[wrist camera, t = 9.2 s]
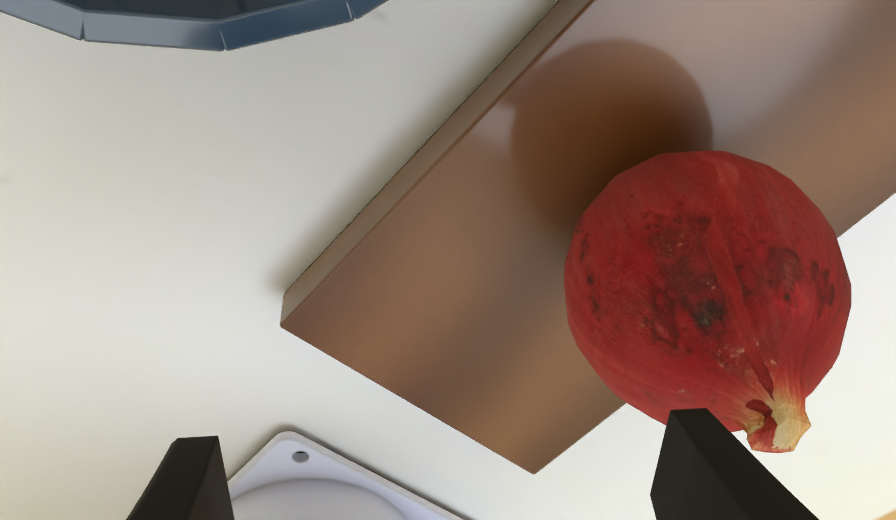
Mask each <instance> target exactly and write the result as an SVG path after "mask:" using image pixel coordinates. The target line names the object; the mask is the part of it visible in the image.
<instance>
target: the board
mask: <svg viewBox="0 0 896 520" xmlns="http://www.w3.org/2000/svg"><path fill="white" fill-rule="evenodd" d="M692 151H726V152H729V153H733V154H736V155H739V156H742V157H745V158H748V159H751V160H754V161H757V162H760V163H763V164H766V165H769V166H771V167H772V168H774V169H775V170H777V171H778V172H780V173H782V174H783V175H785V176H786V177H788V178H790V179H791V180H792V181H793V182H794V183H795V184H796V185H797V186H798V187H799V188H800V189H801V190H802V191H803V192H804V193H805V194H806V195H807V196H808V197H809V198H810V199H811V200H812V202H813V203H814V204H815V205H816V206H817V207H818V208H819V209H820V210H821V212H822V213H823V215H824V216H825V218H826V219H827V221H828V222H829V224H830V225H831V227H832V228H833V230H834V232H835V235H836V238H838V237H839V236H841V235H842V234H843V233H844V232H846V231H847V230H848V229H850V228H851V227H852V226H853V225H855V224H856V223H857V222H859V221H860V220H861V219H862V218H864V217H865V216H866V215H868V214H869V213H870V212H871V211H873V210H874V209H875V208H876V207H878V206H879V205H880V204H882V203H883V202H884V201H885V200H887V199H888V198H889V197H891V196H892V195H893V194H894V193H896V0H560V1H559V2H558V3H557V4H556V5H555V6H554V7H553V8H552V9H551V11H550V12H549V13H548V14H547V15H546V16H545V17H544V18H543V19H542V20H541V21H540V22H539V23H538V24H537V25H536V27H535V28H534V29H533V30H532V31H531V32H530V33H529V34H528V35H527V36H526V37H525V38H524V39H523V40H522V41H521V42H520V44H519V45H518V46H517V47H516V48H515V49H514V50H513V51H512V52H511V53H510V54H509V55H508V56H507V57H506V58H505V60H504V61H503V62H502V63H501V64H500V65H499V66H498V67H497V68H496V69H495V70H494V71H493V72H492V73H491V74H490V75H489V77H488V78H487V79H486V80H485V81H484V82H483V83H482V84H481V85H480V86H479V87H478V88H477V89H476V90H475V91H474V93H473V94H472V95H471V96H470V97H469V98H468V99H467V100H466V101H465V102H464V103H463V104H462V105H461V106H460V107H459V108H458V110H457V111H456V112H455V113H454V114H453V115H452V116H451V117H450V118H449V119H448V120H447V121H446V122H445V123H444V124H443V126H442V127H441V128H440V129H439V130H438V131H437V132H436V133H435V134H434V135H433V136H432V137H431V138H430V139H429V140H428V141H427V143H426V144H425V145H424V146H423V147H422V148H421V149H420V150H419V151H418V152H417V153H416V154H415V155H414V156H413V157H412V159H411V160H410V161H409V162H408V163H407V164H406V165H405V166H404V167H403V168H402V169H401V170H400V171H399V172H398V173H397V174H396V176H395V177H394V178H393V179H392V180H391V181H390V182H389V183H388V184H387V185H386V186H385V187H384V188H383V189H382V190H381V192H380V193H379V194H378V195H377V196H376V197H375V198H374V199H373V200H372V201H371V202H370V203H369V204H368V205H367V206H366V207H365V209H364V210H363V211H362V212H361V213H360V214H359V215H358V216H357V217H356V218H355V219H354V220H353V221H352V222H351V223H350V225H349V226H348V227H347V228H346V229H345V230H344V231H343V232H342V233H341V234H340V235H339V236H338V237H337V238H336V239H335V240H334V242H333V243H332V244H331V245H330V246H329V247H328V248H327V249H326V250H325V251H324V252H323V253H322V254H321V255H320V256H319V258H318V259H317V260H316V261H315V262H314V263H313V264H312V265H311V266H310V267H309V268H308V269H307V270H306V271H305V272H304V273H303V275H302V276H301V277H300V278H299V279H298V280H297V281H296V282H295V283H294V284H293V285H292V286H291V287H290V288H289V289H288V291H287V292H286V293H285V294H284V296H283V304H282V312H281V320H280V326H281V327H282V328H283V329H285V330H287V331H288V332H290V333H292V334H294V335H295V336H297V337H299V338H300V339H302V340H304V341H305V342H307V343H309V344H311V345H312V346H314V347H316V348H317V349H319V350H321V351H323V352H324V353H326V354H328V355H329V356H331V357H333V358H335V359H336V360H338V361H340V362H341V363H343V364H345V365H347V366H348V367H350V368H352V369H353V370H355V371H357V372H359V373H360V374H362V375H364V376H365V377H367V378H369V379H371V380H372V381H374V382H376V383H377V384H379V385H381V386H383V387H384V388H386V389H388V390H389V391H391V392H393V393H394V394H396V395H398V396H400V397H401V398H403V399H405V400H406V401H408V402H410V403H412V404H413V405H415V406H417V407H418V408H420V409H422V410H424V411H425V412H427V413H429V414H430V415H432V416H434V417H436V418H437V419H439V420H441V421H442V422H444V423H446V424H448V425H449V426H451V427H453V428H454V429H456V430H458V431H460V432H461V433H463V434H465V435H466V436H468V437H470V438H472V439H473V440H475V441H477V442H478V443H480V444H482V445H483V446H485V447H487V448H489V449H490V450H492V451H494V452H495V453H497V454H499V455H501V456H502V457H504V458H506V459H507V460H509V461H511V462H513V463H514V464H516V465H518V466H519V467H521V468H523V469H525V470H526V471H528V472H530V473H531V474H536V473H537V472H538V471H540V470H541V469H542V468H544V467H545V466H546V465H547V464H549V463H550V462H551V461H553V460H554V459H555V458H556V457H558V456H559V455H560V454H561V453H563V452H564V451H565V450H567V449H568V448H569V447H570V446H572V445H573V444H574V443H576V442H577V441H578V440H579V439H581V438H582V437H583V436H585V435H586V434H587V433H588V432H590V431H591V430H592V429H594V428H595V427H596V426H597V425H599V424H600V423H601V422H602V421H604V420H605V419H606V418H608V417H609V416H610V415H611V414H613V413H614V412H615V411H617V410H618V409H619V408H620V407H622V406H623V405H624V404H626V403H627V402H625V401H624V400H622V399H621V398H619V397H618V396H616V395H615V394H614V393H613V392H612V391H611V390H610V389H609V388H608V387H607V386H606V384H605V383H604V382H603V381H602V380H601V379H600V378H599V376H598V375H597V373H596V372H595V371H594V369H593V368H592V366H591V365H590V364H589V362H588V361H587V359H586V358H585V357H584V355H583V354H582V352H581V351H580V350H579V348H578V347H577V344H576V342H575V340H574V337H573V335H572V333H571V330H570V328H569V326H568V318H567V308H566V299H565V290H564V267H565V260H566V257H567V254H568V250H569V247H570V244H571V241H572V238H573V235H574V232H575V229H576V225H577V222H578V220H579V218H580V217H581V216H582V214H583V213H584V212H585V210H586V209H587V208H588V207H589V206H590V204H591V203H592V202H593V201H594V200H595V199H596V197H597V196H598V195H599V194H600V193H601V192H602V190H603V189H604V188H605V187H606V186H607V185H608V183H609V182H610V181H611V180H612V179H613V178H614V176H615V175H617V174H619V173H621V172H623V171H625V170H627V169H629V168H631V167H633V166H635V165H637V164H639V163H641V162H644V161H646V160H648V159H650V158H652V157H654V156H656V155H658V154H663V153H677V152H692Z"/></svg>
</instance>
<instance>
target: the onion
mask: <svg viewBox="0 0 896 520" xmlns="http://www.w3.org/2000/svg"><path fill="white" fill-rule="evenodd" d="M564 290H565V299H566V308H567V318H568V326H569V328H570V330H571V333H572V335H573V337H574V340H575V342H576V344H577V347H578V348H579V350H580V351H581V352H582V354H583V355H584V357H585V358H586V359H587V361H588V362H589V364H590V365H591V366H592V368H593V369H594V371H595V372H596V373H597V375H598V376H599V378H600V379H601V380H602V381H603V382H604V383H605V384H606V386H607V387H608V388H609V389H610V390H611V391H612V392H613V393H614V394H615V395H616V396H618V397H619V398H621V399H622V400H624V401H625V402H627V403H628V404H630V405H631V406H633V407H635V408H636V409H638V410H640V411H642V412H643V413H645V414H646V415H648V416H650V417H651V418H653V419H655V420H657V421H659V422H661V423H663V424H664V425H667V421H668V417H669V413H670V410H677V409H695V408H707V409H708V410H709V411H710V412H711V413H712V414H713V415H714V416H715V417H716V418H717V419H718V420H719V421H720V422H721V423H722V424H723V425H724V426H725V427H726V428H727V429H728V430H729V431H730V432H735V431H740V430H744V431H745V432H746V433H747V440H748V442H749V445H750V447H751V449H752V450H755V451H762V452H770V453H783V452H790V451H794V449H795V447H796V445H797V443H798V441H799V439H800V438H801V437H802V435H803V434H804V433H805V432H806V431H807V430H808V429H809V428H810V427H811V424H810V421H809V419H808V416H807V414H806V412H805V398H806V397H807V396H808V395H810V394H811V393H812V392H813V391H814V389H815V388H816V387H817V386H818V384H819V383H820V382H821V381H822V379H823V378H824V377H825V375H826V374H827V373H828V372H829V370H830V369H831V368H832V366H833V365H834V363H835V361H836V359H837V357H838V356H839V353H840V349H841V345H842V341H843V336H844V332H845V328H846V324H847V320H848V316H849V312H850V308H851V283H850V280H849V276H848V273H847V270H846V267H845V263H844V260H843V257H842V253H841V250H840V247H839V244H838V241H837V238H836V235H835V232H834V230H833V228H832V227H831V225H830V224H829V222H828V221H827V219H826V218H825V216H824V215H823V213H822V212H821V210H820V209H819V208H818V207H817V206H816V205H815V204H814V203H813V202H812V200H811V199H810V198H809V197H808V196H807V195H806V194H805V193H804V192H803V191H802V190H801V189H800V188H799V187H798V186H797V185H796V184H795V183H794V182H793V181H792V180H791V179H790V178H788V177H786V176H785V175H783V174H782V173H780V172H778V171H777V170H775V169H774V168H772V167H771V166H769V165H766V164H763V163H760V162H757V161H754V160H751V159H748V158H745V157H742V156H739V155H736V154H733V153H729V152H726V151H692V152H677V153H663V154H658V155H656V156H654V157H652V158H650V159H648V160H646V161H644V162H641V163H639V164H637V165H635V166H633V167H631V168H629V169H627V170H625V171H623V172H621V173H619V174H617V175H615V176H614V178H613V179H612V180H611V181H610V182H609V183H608V185H607V186H606V187H605V188H604V189H603V190H602V192H601V193H600V194H599V195H598V196H597V197H596V199H595V200H594V201H593V202H592V203H591V204H590V206H589V207H588V208H587V209H586V210H585V212H584V213H583V214H582V216H581V217H580V218H579V220H578V222H577V225H576V229H575V232H574V235H573V238H572V241H571V244H570V247H569V250H568V254H567V257H566V260H565V267H564Z"/></svg>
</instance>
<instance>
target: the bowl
mask: <svg viewBox="0 0 896 520" xmlns="http://www.w3.org/2000/svg"><path fill="white" fill-rule="evenodd" d="M387 1H388V0H0V12H2V13H5V14H8V15H11V16H13V17H16V18H19V19H22V20H25V21H27V22H30V23H33V24H36V25H38V26H41V27H44V28H47V29H50V30H52V31H55V32H58V33H61V34H63V35H66V36H69V37H72V38H75V39H77V40H83V39H84V41H87V42H98V43H112V44H126V45H139V46H153V47H167V48H180V49H194V50H208V51H224V49H225V50H226V51H231V50H235V49H239V48H243V47H247V46H252V45H256V44H260V43H264V42H268V41H273V40H277V39H281V38H285V37H289V36H294V35H298V34H302V33H306V32H310V31H315V30H319V29H323V28H327V27H331V26H336V25H340V24H344V23H348V22H352V21H353V20H354V18H355V19H359V18H361V17H363V16H364V15H366V14H367V13H369V12H371V11H372V10H374V9H376V8H377V7H379V6H380V5H382V4H384V3H385V2H387Z"/></svg>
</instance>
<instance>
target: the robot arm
mask: <svg viewBox="0 0 896 520" xmlns="http://www.w3.org/2000/svg"><path fill="white" fill-rule="evenodd" d="M298 451H303V452H305V453H297V452H298ZM650 496H651V500H652V504H653V508H654V512H655V516H656V519H657V520H819V519H818V518H817V517H816V516H815V515H814V514H813V513H812V512H810V511H809V510H808V509H807V508H806V507H805V506H804V505H803V504H802V503H801V502H800V501H799V500H798V499H797V498H796V497H795V496H794V495H793V494H792V493H791V492H790V491H788V490H787V489H786V488H785V487H784V486H783V485H782V484H781V483H780V482H779V481H778V480H777V479H776V478H775V477H774V476H773V475H772V474H771V473H770V472H769V471H768V470H767V469H766V468H765V467H764V466H763V465H762V464H761V463H760V462H759V461H758V460H757V459H756V458H755V457H754V456H753V455H752V454H751V453H750V452H749V451H748V450H747V449H746V447H745V446H744V445H743V444H742V443H741V442H740V441H739V440H738V439H737V438H736V437H735V436H734V435H733V434H732V433H731V432H730V431H729V430H728V429H727V428H726V427H725V426H724V425H723V424H722V423H721V422H720V421H719V420H718V419H717V418H716V417H715V416H714V415H713V414H712V413H711V412H710V411H709V410H708V409H707V408H695V409H677V410H670V413H669V417H668V421H667V425H666V430H665V434H664V438H663V442H662V446H661V451H660V455H659V459H658V463H657V468H656V472H655V476H654V480H653V484H652V489H651V493H650ZM126 520H463V519H461V518H460V517H458V516H456V515H454V514H452V513H450V512H448V511H446V510H444V509H442V508H440V507H438V506H436V505H435V504H433V503H431V502H429V501H427V500H425V499H423V498H421V497H419V496H417V495H415V494H413V493H411V492H410V491H408V490H406V489H404V488H402V487H400V486H398V485H396V484H394V483H392V482H390V481H388V480H386V479H385V478H383V477H381V476H379V475H377V474H375V473H373V472H371V471H369V470H367V469H365V468H363V467H361V466H360V465H358V464H356V463H354V462H352V461H350V460H348V459H346V458H344V457H342V456H340V455H338V454H336V453H335V452H333V451H331V450H329V449H327V448H325V447H323V446H321V445H319V444H317V443H315V442H313V441H311V440H310V439H308V438H306V437H304V436H302V435H300V434H298V433H295V432H292V431H285V432H281V433H279V434H277V435H276V436H275V437H274V438H273V439H272V440H271V441H269V442H268V443H267V444H266V445H265V446H264V447H263V448H262V449H261V450H260V451H259V452H258V453H257V454H256V455H255V456H254V457H253V458H252V459H251V460H250V461H249V462H248V463H247V464H246V465H245V466H244V467H243V468H241V469H240V470H239V471H238V472H237V473H236V474H235V475H234V476H233V477H232V478H231V479H230V480H229V481H228V482H227V478H226V473H225V468H224V463H223V458H222V453H221V448H220V443H219V438H218V436H206V437H188V438H177V439H176V440H175V441H174V442H173V443H172V444H171V446H170V447H169V449H168V451H167V453H166V455H165V456H164V458H163V460H162V462H161V463H160V465H159V467H158V469H157V470H156V472H155V474H154V476H153V477H152V479H151V481H150V482H149V484H148V486H147V487H146V489H145V491H144V492H143V494H142V495H141V497H140V499H139V500H138V502H137V503H136V505H135V507H134V508H133V510H132V511H131V513H130V515H129V516H128V518H127V519H126Z"/></svg>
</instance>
